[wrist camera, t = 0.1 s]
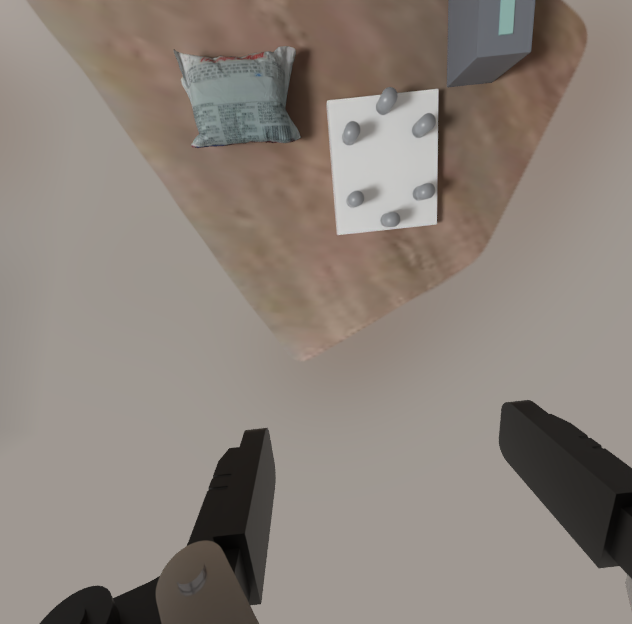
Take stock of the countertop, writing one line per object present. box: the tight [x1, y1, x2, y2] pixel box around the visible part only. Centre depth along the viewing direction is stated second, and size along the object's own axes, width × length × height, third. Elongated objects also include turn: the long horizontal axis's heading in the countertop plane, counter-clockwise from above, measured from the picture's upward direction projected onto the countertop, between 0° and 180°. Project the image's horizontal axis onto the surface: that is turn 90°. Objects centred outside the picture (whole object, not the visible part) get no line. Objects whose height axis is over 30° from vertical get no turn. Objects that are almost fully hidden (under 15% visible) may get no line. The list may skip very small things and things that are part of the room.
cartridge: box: [447, 0, 535, 87], centre depth 28 cm, size 9×5×6 cm, turn 6°
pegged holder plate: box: [327, 87, 438, 235], centre depth 33 cm, size 14×12×4 cm
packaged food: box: [174, 46, 301, 148], centre depth 30 cm, size 9×12×5 cm
